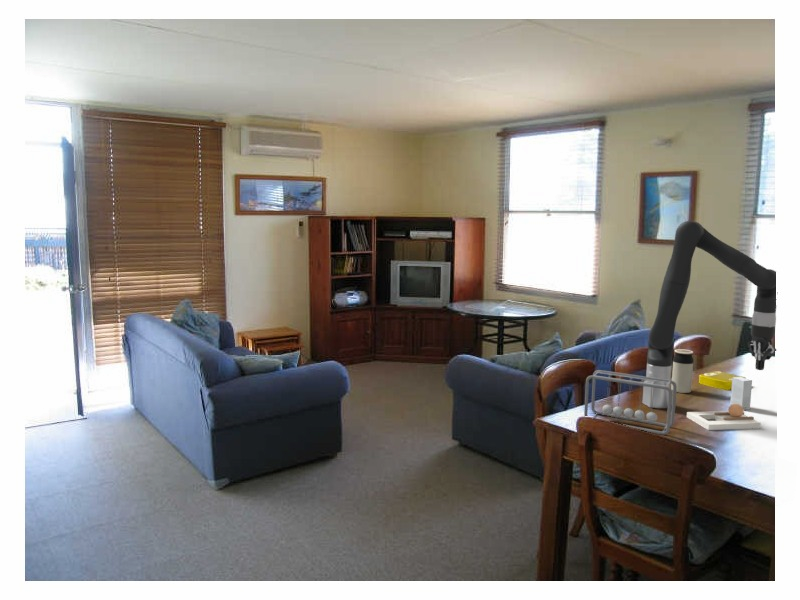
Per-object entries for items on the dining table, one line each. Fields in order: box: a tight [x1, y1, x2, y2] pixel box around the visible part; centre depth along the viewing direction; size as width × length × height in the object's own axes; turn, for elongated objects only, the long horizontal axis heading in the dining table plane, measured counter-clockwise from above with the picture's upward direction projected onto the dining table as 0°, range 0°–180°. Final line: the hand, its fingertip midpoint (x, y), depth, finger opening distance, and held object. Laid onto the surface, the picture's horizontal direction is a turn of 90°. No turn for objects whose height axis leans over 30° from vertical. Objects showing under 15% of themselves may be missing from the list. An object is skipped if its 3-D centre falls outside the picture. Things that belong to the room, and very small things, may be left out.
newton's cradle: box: [584, 369, 677, 436], centre depth 226 cm, size 30×10×18 cm, turn 57°
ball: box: [727, 404, 745, 417], centre depth 228 cm, size 5×5×5 cm
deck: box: [686, 410, 761, 431], centre depth 228 cm, size 20×14×3 cm
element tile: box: [698, 370, 746, 392], centre depth 278 cm, size 15×15×5 cm
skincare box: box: [729, 376, 753, 411], centre depth 245 cm, size 6×4×12 cm
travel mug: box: [670, 348, 694, 394], centre depth 267 cm, size 8×8×18 cm
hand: (759, 369), depth 227 cm, fingers closed
